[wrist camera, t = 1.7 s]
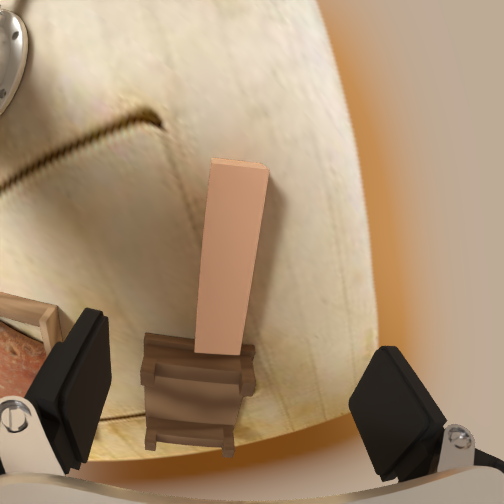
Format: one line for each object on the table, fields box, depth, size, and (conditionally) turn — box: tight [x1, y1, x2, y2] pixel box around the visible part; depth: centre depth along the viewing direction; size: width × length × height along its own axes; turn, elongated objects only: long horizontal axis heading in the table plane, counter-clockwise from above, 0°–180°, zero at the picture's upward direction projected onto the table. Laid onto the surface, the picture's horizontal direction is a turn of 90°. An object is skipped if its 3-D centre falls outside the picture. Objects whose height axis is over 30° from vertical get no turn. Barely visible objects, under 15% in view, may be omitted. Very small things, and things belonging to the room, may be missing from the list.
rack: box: [140, 333, 256, 458], centre depth 31 cm, size 15×11×5 cm
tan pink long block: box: [194, 158, 270, 355], centre depth 26 cm, size 16×4×4 cm, turn 172°
